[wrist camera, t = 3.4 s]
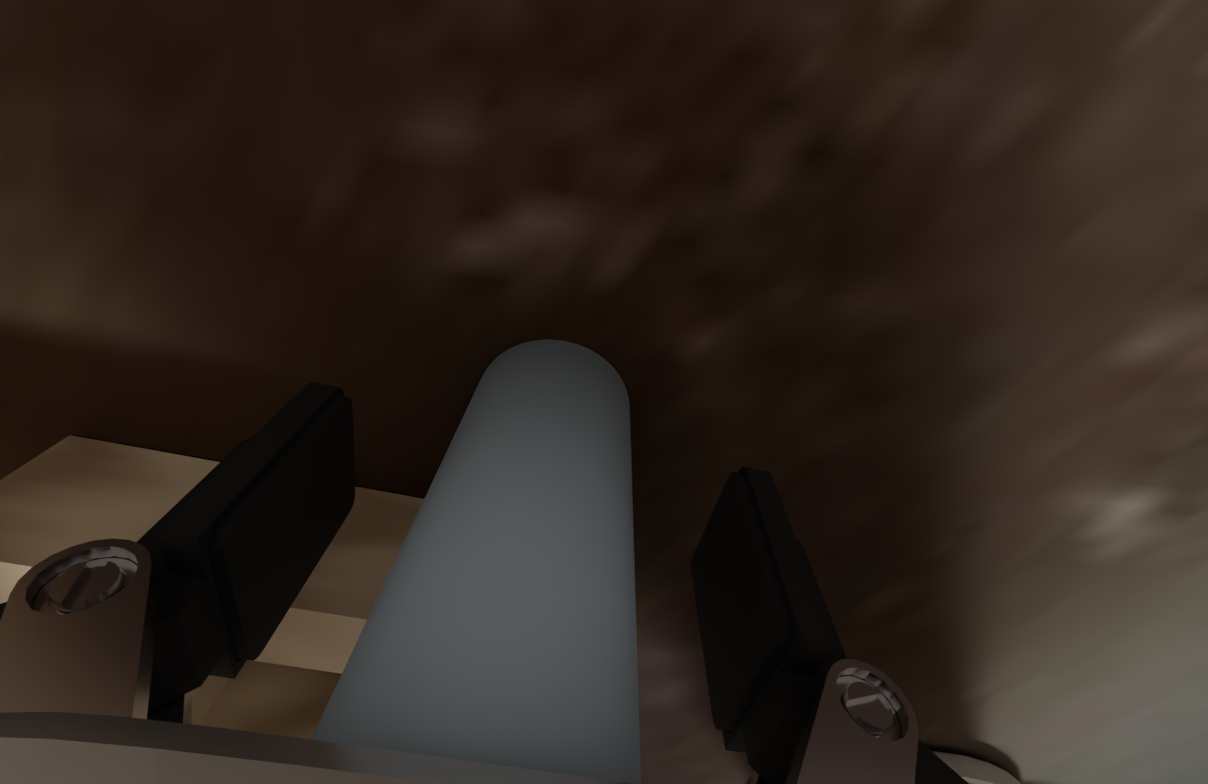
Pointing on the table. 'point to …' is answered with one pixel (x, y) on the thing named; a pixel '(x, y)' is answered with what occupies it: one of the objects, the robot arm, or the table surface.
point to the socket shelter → (141, 498)
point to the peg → (513, 586)
